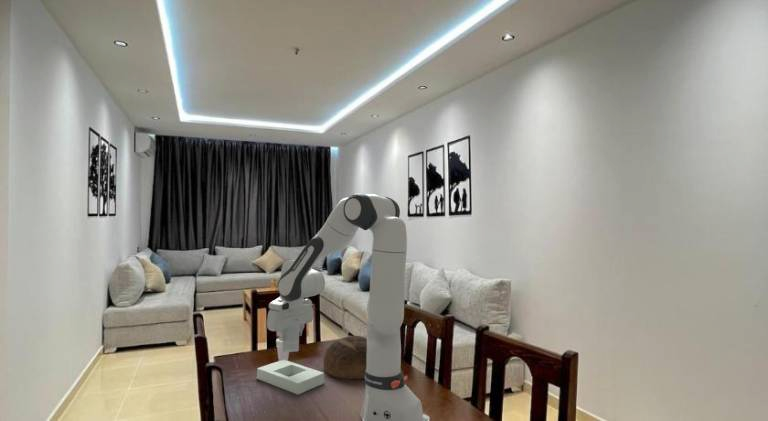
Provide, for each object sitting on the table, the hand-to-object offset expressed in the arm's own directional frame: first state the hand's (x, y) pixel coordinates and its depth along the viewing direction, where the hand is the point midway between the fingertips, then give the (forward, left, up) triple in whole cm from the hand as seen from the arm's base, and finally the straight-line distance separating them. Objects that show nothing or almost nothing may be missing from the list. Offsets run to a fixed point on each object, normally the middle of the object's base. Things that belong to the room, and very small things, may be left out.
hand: (290, 338), depth 167 cm
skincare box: (0, 0, -5) cm, 5 cm away
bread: (-11, -26, -17) cm, 33 cm away
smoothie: (+18, -12, -17) cm, 27 cm away
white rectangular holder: (0, 0, -16) cm, 16 cm away
